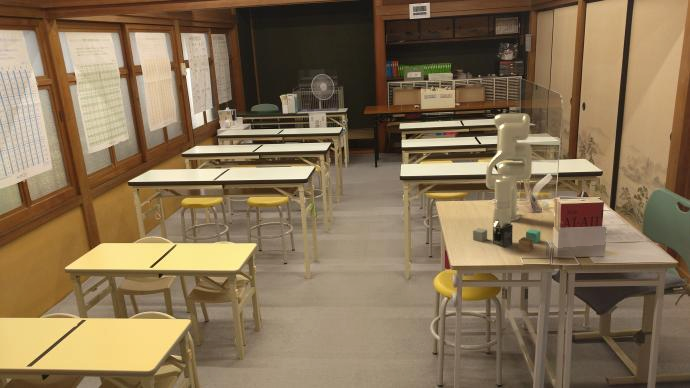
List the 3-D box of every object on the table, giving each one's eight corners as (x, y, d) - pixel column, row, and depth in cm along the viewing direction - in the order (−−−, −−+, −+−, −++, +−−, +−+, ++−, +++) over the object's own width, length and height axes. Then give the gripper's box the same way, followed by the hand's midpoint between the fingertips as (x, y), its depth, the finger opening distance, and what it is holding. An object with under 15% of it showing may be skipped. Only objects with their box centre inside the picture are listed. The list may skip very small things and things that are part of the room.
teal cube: (530, 238, 263) (530, 229, 262) (540, 240, 260) (540, 230, 258) (525, 241, 259) (526, 231, 258) (535, 243, 256) (536, 233, 255)
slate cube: (478, 237, 269) (478, 227, 268) (487, 239, 266) (487, 229, 265) (473, 240, 266) (473, 230, 265) (482, 242, 263) (482, 232, 261)
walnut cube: (523, 246, 253) (523, 237, 252) (533, 249, 250) (533, 239, 249) (518, 250, 250) (518, 240, 249) (528, 252, 246) (529, 242, 245)
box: (512, 245, 256) (512, 224, 253) (503, 248, 253) (503, 227, 251) (501, 240, 263) (501, 220, 260) (492, 243, 260) (492, 222, 257)
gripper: (504, 198, 261) (503, 231, 266) (486, 207, 249) (486, 241, 254) (518, 200, 256) (517, 234, 260) (501, 209, 244) (501, 245, 248)
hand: (502, 237), depth 257 cm, fingers open, 8 cm apart
